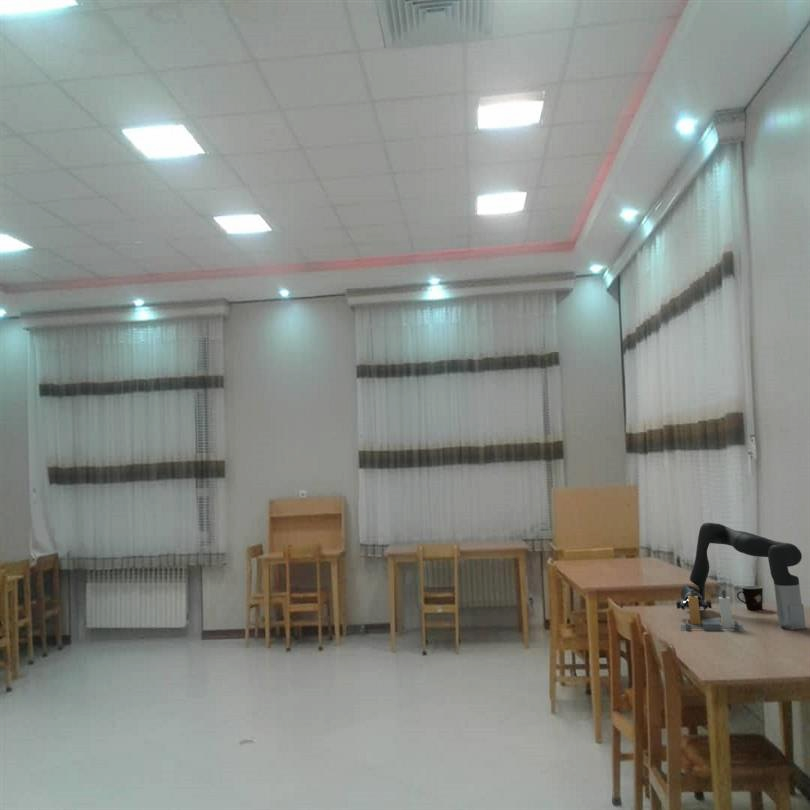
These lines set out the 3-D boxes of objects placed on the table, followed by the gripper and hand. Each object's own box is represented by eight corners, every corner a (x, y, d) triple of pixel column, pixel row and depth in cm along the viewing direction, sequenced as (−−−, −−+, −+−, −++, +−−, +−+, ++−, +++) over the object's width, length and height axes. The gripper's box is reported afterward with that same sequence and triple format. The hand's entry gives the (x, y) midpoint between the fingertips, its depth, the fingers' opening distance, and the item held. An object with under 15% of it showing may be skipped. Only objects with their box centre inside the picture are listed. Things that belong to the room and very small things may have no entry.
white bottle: (732, 626, 309) (728, 589, 311) (733, 628, 306) (728, 591, 307) (721, 626, 311) (717, 589, 312) (722, 628, 307) (718, 591, 308)
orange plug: (700, 624, 323) (696, 588, 324) (701, 626, 319) (697, 590, 320) (690, 624, 324) (687, 588, 325) (691, 626, 320) (687, 590, 322)
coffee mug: (762, 607, 348) (760, 585, 349) (766, 611, 340) (764, 588, 341) (735, 608, 351) (733, 586, 352) (739, 611, 343) (736, 589, 344)
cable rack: (742, 627, 312) (741, 618, 312) (745, 633, 301) (744, 624, 301) (680, 627, 320) (680, 618, 320) (681, 633, 308) (680, 624, 309)
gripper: (675, 592, 342) (675, 598, 327) (709, 592, 337) (710, 598, 322) (677, 609, 341) (677, 616, 326) (711, 609, 336) (712, 616, 321)
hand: (694, 607), depth 324 cm, fingers open, 8 cm apart
